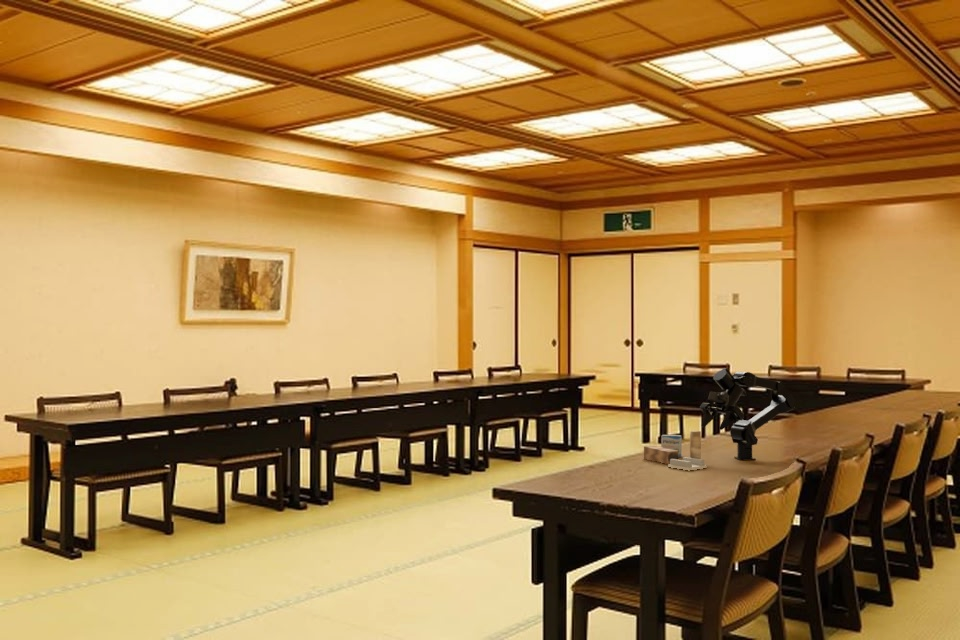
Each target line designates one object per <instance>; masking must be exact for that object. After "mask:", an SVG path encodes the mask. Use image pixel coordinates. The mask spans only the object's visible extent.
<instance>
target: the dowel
mask: <svg viewBox="0 0 960 640" xmlns="http://www.w3.org/2000/svg"><path fill="white" fill-rule="evenodd" d="M701 437H702V433H701V431H700V430H690V431H689V458H695V459H702V451H701V450H702V439H701Z"/></svg>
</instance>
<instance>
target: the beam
mask: <svg viewBox="0 0 960 640" xmlns="http://www.w3.org/2000/svg"><path fill="white" fill-rule="evenodd" d="M679 458H680V457H679V454H678V451H676V450H672V449H667V448H662V447H661V446H657V445H645V446H644V445H643V459H644V460H646V459H647V461H650V460H652V461H651V462H654V461H657V462H656V463H658V462H661V463H660V464H662V463H665V464H664V465H667V464H670V459H677V460H680V459H679Z"/></svg>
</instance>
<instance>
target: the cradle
mask: <svg viewBox="0 0 960 640" xmlns="http://www.w3.org/2000/svg"><path fill="white" fill-rule="evenodd" d="M668 467H671V468H670V469H673V468H677V469H676V470H679V469H683V470H682V471H685V470H688V471H687V472H691V471H690V470H694V471H698V470H697V469H700V470H704V469H703V468H707V465H706V464H705V459H702V458H701V459H695V458H690V457H688V456H684V457H683V456H682V459H679V460H677V459H670V464H668V465H667V468H668Z"/></svg>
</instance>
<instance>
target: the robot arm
mask: <svg viewBox="0 0 960 640" xmlns="http://www.w3.org/2000/svg"><path fill="white" fill-rule="evenodd" d="M713 380H714V382H715V383H716V384H717V385H718V386H719V387H720V388H721V390H723V391H721V392H717V391H709V395H708V398H707V400H708V401H711V402H713V403H709V402H702V403H701V404H700V406H699V408H700V410H701V411H702V413H703V418H702V423H701V427H702V428H706V426H708V425H709V424H710V423H711V421H712V420H714V419H715V417H716V415H717V414H721V415H725V416H724V418H723V419H722V421H721V423H720V425H719V430H720V431H722V430H724V429H725V428H727V427H729V426H730V425H732V426H731V427H730V437H731V439H732V443H733V444H736V447H737V449H736V450H737V451H736V452H737V455H736V456H734V457H733V459H737V460H739V461H756V460H757V458H755V457H753V446H755V445H757V444H758V439H759V438H757V436H756V431H757V430H758V429H760V428H761V427H762V426H764V425H766V424H767V423H768V422H769V421H771V420H772V419H774V418H775V417H777V416H778V415H780V414H785V413H788V412H790V411H793V410H794V409H795V407H796V400H795V398H794V396H793V394H792V392H790V391H789V389H788V388H787V387H785V385H784V383H783V382H782V381H780V380H773V379H767V378H765V377H764V378H763V377H759V376H757V375H756V374H754V373H751V371H750V372H749V371H735V373H733V374H732V373H731V372H730V370H729V369H728V368H727V367H726V368H725V367H723V368H722V369H721V370H718V371H717V372H716V373H714V375H713ZM743 387H750V388H751V387H757V388H762V389H766V390H769V391H770V398H771V401H770V405H769V406H767V407H765V408H764V409H763V410H761V411H760V412H758V413H757V414H756V415H754V416H753V417H752V418H750V419H748V420H744V418H745V413H744V412H743V410H742V409H741V408H740V407H739V406H738V405H739V404H738V403H737V402H738V401H739V399H740V397H746V396H747V393H746V388H743ZM778 393H779V394H778ZM712 404H713V405H712ZM715 406H716V407H715Z"/></svg>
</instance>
